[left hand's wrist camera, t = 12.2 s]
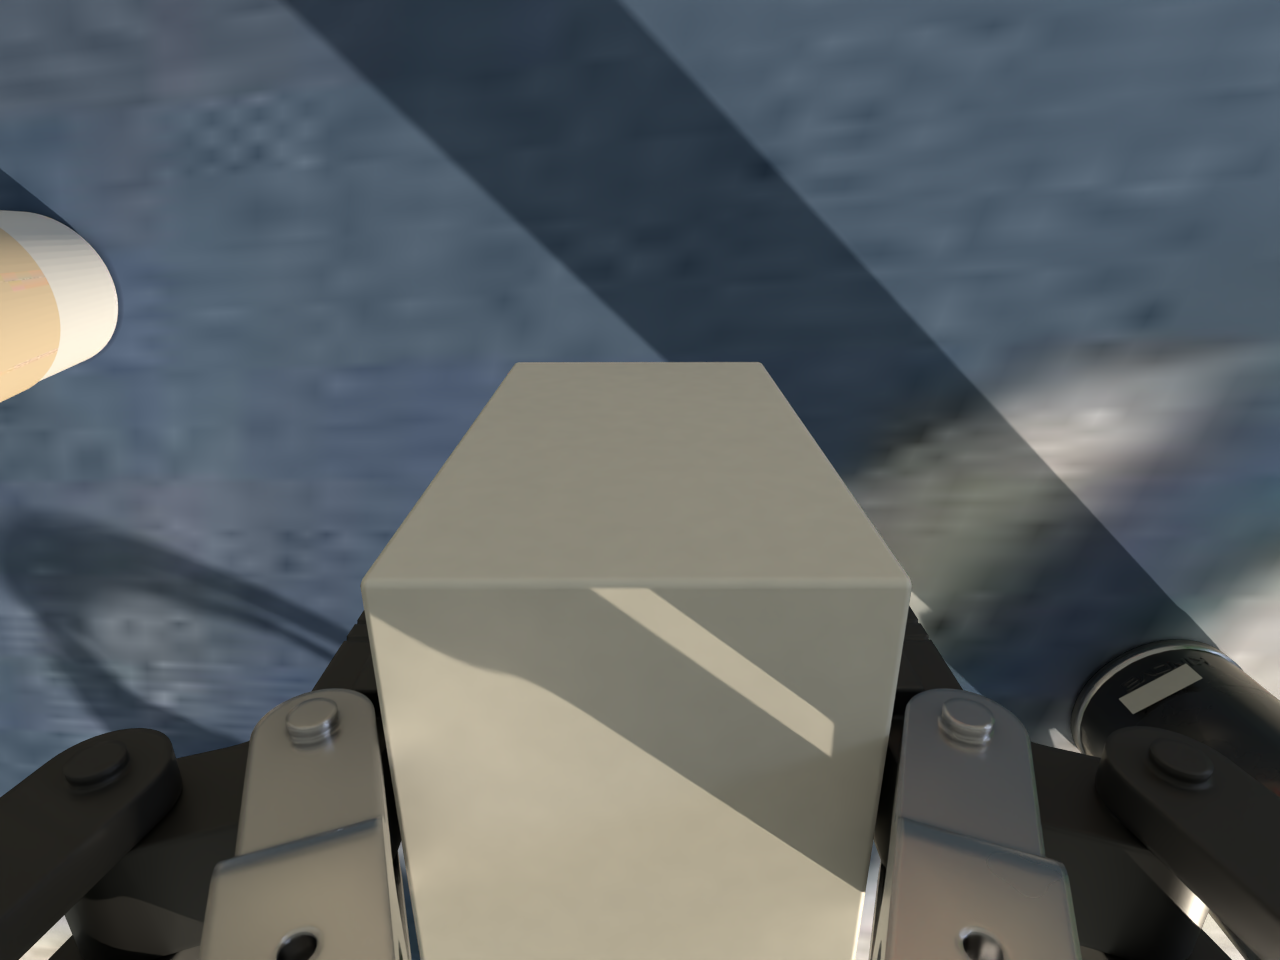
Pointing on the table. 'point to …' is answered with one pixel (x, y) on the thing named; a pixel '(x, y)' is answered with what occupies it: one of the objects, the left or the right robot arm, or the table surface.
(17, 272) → the coffee cup
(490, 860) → the bar
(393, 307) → the table surface
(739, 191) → the table surface
